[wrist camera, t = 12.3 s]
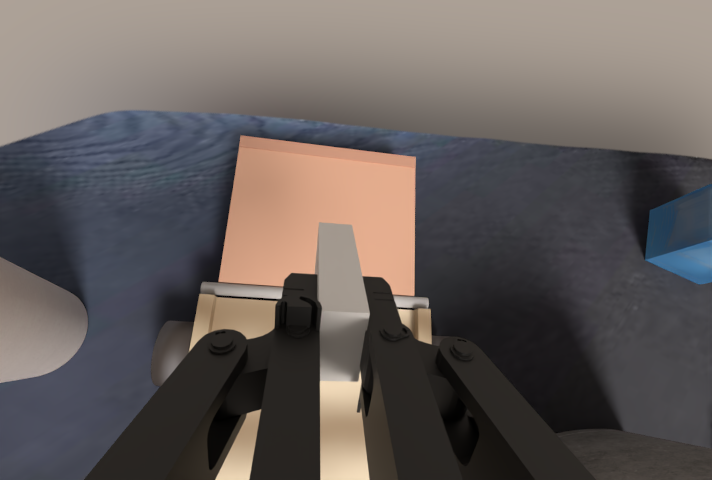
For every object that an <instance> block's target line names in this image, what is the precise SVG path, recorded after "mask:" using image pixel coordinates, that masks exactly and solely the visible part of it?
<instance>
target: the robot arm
mask: <svg viewBox="0 0 712 480" xmlns="http://www.w3.org/2000/svg"><path fill="white" fill-rule="evenodd" d="M360 373H361V380H362V383H361V388H360V394H359V400H358V406H357V413H360V410H361V411H362V420H363V428H364V437H365V445H366V454H367V462H368V471H369V479H370V480H596V479H595V478H594V477H593V476H592V475H591V473H590V472H589V471H588V470H587V469H586V468H585V467H584V465H583V464H582V463H581V462H580V461H579V460H578V459H577V458H576V456H575V455H574V454H573V453H572V452H571V451H570V450H569V448H568V447H567V446H566V445H565V444H564V443H563V442H562V441H561V439H560V438H559V437H558V436H557V435H556V434H555V433H554V432H553V430H552V429H551V428H550V427H549V426H548V425H547V424H546V422H545V421H544V420H543V419H542V418H541V417H540V416H539V415H538V413H537V412H536V411H535V410H534V409H533V408H532V407H531V405H530V404H529V403H528V402H527V401H526V400H525V399H524V398H523V396H522V395H521V394H520V393H519V392H518V391H517V390H516V388H515V387H514V386H513V385H512V384H511V383H510V382H509V381H508V379H507V378H506V377H505V376H504V375H503V374H502V373H501V371H500V370H499V369H498V368H497V367H496V366H495V365H494V364H493V362H492V361H491V360H490V359H489V358H488V357H487V356H486V354H485V353H484V352H483V351H482V350H481V349H480V348H479V347H478V346H477V345H476V344H474V343H473V342H471V341H469V340H467V339H464V338H460V337H447V338H444V339H443V340H442V341H441V342H440V344H439V346H436V345H432V344H429V343H425V342H422V341H419V340H417V339H415V338H414V336H413V333H412V332H411V330H410V329H409V328H408V327H407V326H405V325H404V324H402V322H401V319H400V315H399V312H398V309H397V306H396V303H395V301H394V297H393V295H392V290H391V287H390V285H389V284H388V283H387V282H386V281H385V280H384V279H383V278H382V277H369V276H362V272H361V267H360V262H359V257H358V252H357V247H356V242H355V237H354V232H353V227H352V225H347V224H335V223H322V222H319V228H318V240H317V251H316V263H315V274H303V273H291V274H290V275H289V276H288V277H287V278H286V279H285V280H284V286H283V292H282V298H281V299H280V300H278V302H277V303H276V305H275V328H274V329H273V330H272V331H270V332H269V333H267V334H265V335H263V336H260V337H256V338H251V339H246V337H245V336H244V335H243V334H242V333H241V332H238V331H236V330H233V329H221V330H215V331H212V332H210V333H208V334H205V335H204V336H203V337H202V338H201V339H200V340H199V341H198V342H197V343H196V344H195V345H194V347H193V348H192V349H191V350H190V351H189V353H188V354H187V355H186V356H185V358H184V359H183V360H182V361H181V362H180V364H179V365H178V366H177V367H176V369H175V370H174V371H173V372H172V373H171V375H170V376H169V377H168V378H167V379H166V381H165V382H164V383H163V384H162V386H161V387H160V388H159V389H158V390H157V392H156V393H155V394H154V395H153V396H152V398H151V399H150V400H149V401H148V403H147V404H146V405H145V406H144V407H143V409H142V410H141V411H140V412H139V414H138V415H137V416H136V417H135V418H134V420H133V421H132V422H131V423H130V424H129V426H128V427H127V428H126V429H125V431H124V432H123V433H122V434H121V435H120V437H119V438H118V439H117V440H116V441H115V443H114V444H113V445H112V446H111V448H110V449H109V450H108V451H107V452H106V454H105V455H104V456H103V457H102V459H101V460H100V461H99V462H98V463H97V465H96V466H95V467H94V468H93V469H92V471H91V472H90V473H89V474H88V476H87V477H86V478H85V479H84V480H215V479H216V477H217V475H218V473H219V471H220V469H221V467H222V465H223V463H224V461H225V459H226V457H227V455H228V453H229V451H230V449H231V447H232V445H233V443H234V441H235V439H236V437H237V435H238V433H239V431H240V429H241V427H242V425H243V423H244V421H245V419H246V416H247V413H250V412H253V411H257V410H260V409H261V413H260V419H259V425H258V431H257V437H256V443H255V449H254V455H253V461H252V467H251V473H250V479H249V480H320V381H348V382H358V380H359V374H360Z"/></svg>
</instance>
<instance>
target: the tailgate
mask: <svg viewBox="0 0 712 480" xmlns="http://www.w3.org/2000/svg"><path fill="white" fill-rule="evenodd" d="M415 167H416V157H410V156H402V155H394V154H386V153H378V152H370V151H362V150H354V149H346V148H338V147H330V146H322V145H314V144H306V143H298V142H290V141H282V140H274V139H266V138H258V137H249V136H241V137H240V144H239V152H238V158H237V165H236V171H235V178H234V184H233V191H232V197H231V204H230V210H229V217H228V223H227V230H226V236H225V243H224V249H223V256H222V262H221V268H220V275H219V281H218V282H219V283H214V282H202V285H201V294H211V295H224V296H239V297H254V298H269V299H281V298H282V292H283V286H284V280H285V279H286V278H287V277H288V276H289V275H290V274H291V273H303V274H315V263H316V251H317V240H318V228H319V222H322V223H335V224H347V225H352V227H353V232H354V237H355V242H356V247H357V252H358V257H359V262H360V267H361V272H362V276H369V277H382V278H383V279H384V280H385V281H386V282H387V283H388V284H389V285H390V287H391V290H392V295H393V297H394V301H395V303H396V306H397V307H404V308H420V309H428V306H429V300H428V298H426V297H413V296H414V277H415Z"/></svg>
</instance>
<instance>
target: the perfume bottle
mask: <svg viewBox="0 0 712 480" xmlns="http://www.w3.org/2000/svg"><path fill="white" fill-rule="evenodd" d="M645 261H648V262H650V263H652V264H654V265H657V266H659V267H661V268H663V269H666V270H668V271H670V272H672V273H675V274H677V275H679V276H681V277H684V278H686V279H688V280H690V281H693V282H695V283H697V284H699V285H700V284H705V283H709V282H712V184H709V185H707V186H705V187H702V188H700V189H698V190H696V191H693V192H691V193H689V194H686V195H684V196H682V197H680V198H677V199H675V200H673V201H670V202H668V203H666V204H664V205H661V206H659V207H657V208H654V209H652V210H650V215H649V225H648V235H647V245H646V255H645Z"/></svg>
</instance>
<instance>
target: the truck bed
mask: <svg viewBox="0 0 712 480" xmlns="http://www.w3.org/2000/svg"><path fill="white" fill-rule="evenodd" d="M277 302H278V301H267V300H252V299H236V298H221V297H216V296H215V295H211V294H199V300H198V305H197V310H196V316H195V321H194V322H185V321H167V322H166V323H165V324H164V325H163V327H162V328H161V330H160V332H159V334H158V337H157V339H156V342H155V346H154V350H153V355H152V362H151V377H152V381H153V383H154V385H156V386H162V384H163V383H164V382H165V381H166V379H167V378H168V377H169V376H170V375H171V373H172V372H173V371H174V370H175V369H176V367H177V366H178V365H179V364H180V362H181V361H182V360H183V359H184V358H185V356H186V355H187V354H188V353H189V351H190V350H191V349H192V348H193V347H194V345H195V344H196V343H197V342H198V341H199V340H200V339H201V338H202V337H203V336H204V335H205V334H208V333H210V332H212V331H215V330H221V329H233V330H236V331H238V332H241V333H242V334H243V335H244V336H245V337H246V339H251V338H256V337H260V336H263V335H265V334H267V333H269V332H270V331H272V330H273V329H274V328H275V305H276V303H277ZM398 312H399V315H400V319H401V322H402V324H404V325H405V326H407V327H408V328H409V329H410V330H411V332H412V333H413V336H414V338H415V339H417V340H419V341H422V342H425V343H429V344H432V345H436V346H439V344H440V342H441V341H442V340H443V339H444V338H447V337H449V336H432V335H431V309H420V308H418V309H416V310H403V309H398ZM361 383H362V380H361V373H360V374H359V380H358V382H348V381H320V480H370V479H369V471H368V462H367V454H366V445H365V437H364V428H363V420H362V411H361V410H360V413H357V406H358V400H359V394H360V388H361ZM260 413H261V409H260V410H257V411H253V412H250V413H247V416H246V419H245V421H244V423H243V425H242V427H241V429H240V431H239V433H238V435H237V437H236V439H235V441H234V443H233V445H232V447H231V449H230V451H229V453H228V455H227V457H226V459H225V461H224V463H223V465H222V467H221V469H220V471H219V473H218V475H217V477H216V479H215V480H249V479H250V473H251V467H252V461H253V455H254V449H255V443H256V437H257V431H258V425H259V419H260Z"/></svg>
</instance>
